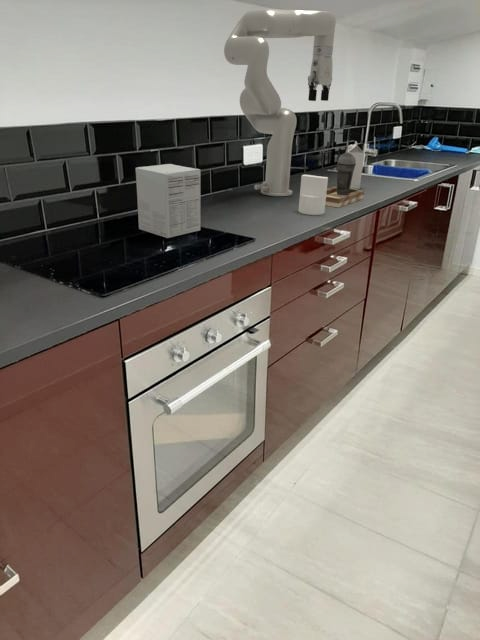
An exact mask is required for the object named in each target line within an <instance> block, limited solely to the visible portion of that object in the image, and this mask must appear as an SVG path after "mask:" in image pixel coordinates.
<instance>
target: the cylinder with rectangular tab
mask: <svg viewBox="0 0 480 640" xmlns="http://www.w3.org/2000/svg"><path fill="white" fill-rule="evenodd" d="M328 181H329V177H328V176H321V175H319V176H318V175H313V174H302V175H301V178H300V188H299V189H300V191H299V201H298V203H299V204H298V213H300V214H303V215H308V216H309V215H310V216H319V215H324V214H325V210H326V205H325V202H326V193H327V188H328V183H329V182H328Z"/></svg>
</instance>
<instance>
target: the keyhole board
mask: <svg viewBox="0 0 480 640" xmlns="http://www.w3.org/2000/svg"><path fill="white" fill-rule="evenodd" d="M364 195H365V190H362V189H361V190H360V189H351V188H350V190H349V194H348V195H338V194H337V186H336V185H335V186H331V187H327V193H326V202H325V206H328V207H334V208H342V207H344V206H347V205H350V204H352V203H355V202H359V201H361V200H363V199H364Z"/></svg>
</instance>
